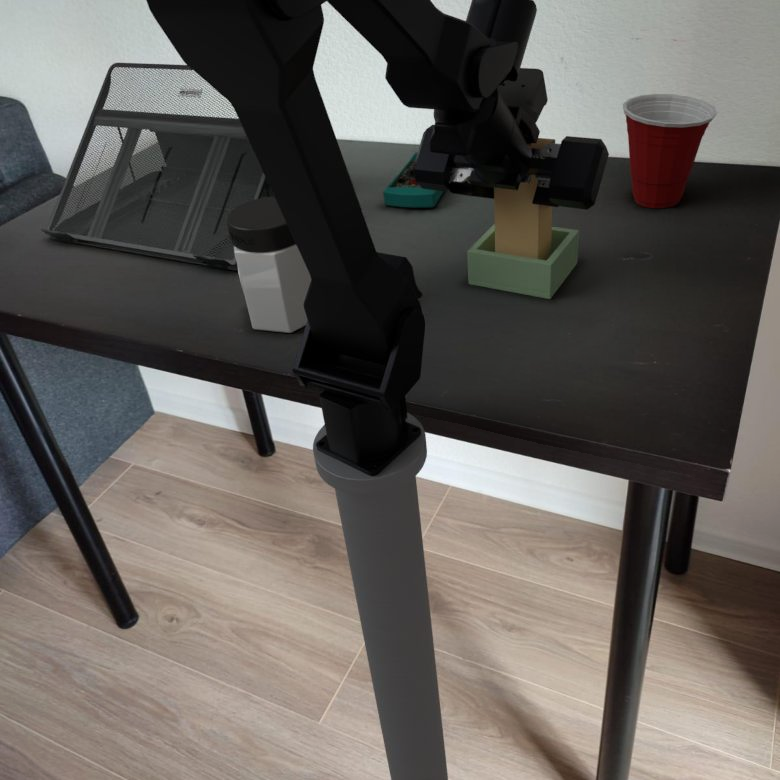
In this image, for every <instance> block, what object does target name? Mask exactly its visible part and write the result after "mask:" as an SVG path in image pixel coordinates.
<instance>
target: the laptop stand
mask: <svg viewBox="0 0 780 780" xmlns="http://www.w3.org/2000/svg"><path fill="white" fill-rule="evenodd" d="M157 81H158V82H157ZM180 85H181V86H180ZM156 89H157V90H156ZM211 94H212V95H211ZM183 106H184V107H183ZM115 135H116V136H115ZM100 147H101V148H100ZM91 149H92V150H91ZM106 150H107V151H106ZM111 165H112V166H111ZM97 177H98V178H97ZM63 182H64V183H63V185H62V187H61V190H60V193H59V194H58V195H59V196H58V198H57V200H56V203H55V206H54V208H53V211H52V213H51V216H50V219H49V221H48V224H47V225H46V226H47V227H46V229H43V228H41V229H40V231H41V232H43V233H44V234H45V235H48V236H49V237H48V238H49V240H54V241H57V242H58V241H59V242H64V243H69V244H77V245H83V246H90V247H95V248H100V249H106V250H112V251H118V252H123V253H129V254H136V255H141V256H147V257H151V258H158V259H164V260H171V261H175V262H181V263H189V264H194V265H199V266H205V267H209V268H215V269H220V270H224V271H225V270H226V271H234V272H238V266H237V262H236V258H235V254H234V245H233V244H232V241H231V238H230V236H229V232H228V224H227V216H228V214H229V213H230V212H231V211H232V210H233V209H234V208H236V207H238V206H239V205H241V204H243V203H246V202H249V201H252V200H255V199H259V198H265V197H273V196H274V195H273V193H272V190H271V188H270V186H269V184H268V182H267V179H266V177H265V175H264V173H263V171H262V168H261V166H260V164H259V162H258V160H257V157H256V155H255V153H254V151H253V149H252V147H251V144H250V142H249V140H248V138H247V136H246V133H245V131H244V129H243V127H242V125H241V122H240V120H239V118H238V116H237V114H236V111H235V109H234V108H233V106H232V105H231V103H230V102H228V100H227V99H226V98H224V96H223V95H222V94H220V93H219V92H218V91H217V90H216V89H215V88H213V87H212V86H211V85H210V84H209V83H208V82H206V81H205V80H204V79H203V78H202V77H201V76H199V75H198V74H197V73H196V72H195V71H194V70H192V69H191V68H190V67H189V66H188V65H187V64H171V63H170V64H167V63H143V62H142V63H139V62H114V63H112V64H111V65H110V66H109V68H108V70H107V72H106V75H105V78H104V79H103V83H102V85H101V87H100V90H99V92H98V95H97V98H96V100H95V103H94V105H93V108H92V111H91V113H90V116H89V118H88V121H87V124H86V126H85V128H84V131H83V134H82V137H81V139H80V141H79V144H78V147H77V149H76V152H75V153H74V157H73V159H72V162H71V165H70V167H69V170H68V172H67V175H66V177H65V181H63ZM84 189H86V190H84ZM84 192H85V193H84ZM91 203H92V204H91Z"/></svg>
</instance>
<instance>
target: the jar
mask: <svg viewBox="0 0 780 780" xmlns="http://www.w3.org/2000/svg"><path fill="white" fill-rule="evenodd" d="M272 196H273V197H272ZM272 196H270V197H268V196H267V197H266V196H265V197H263V198H262V197H261V198H259V199H255V200H252V199H251V201H249V200H248V202H246V201H245V203H243V202H242V203H243V204H241V203H240V204H241V205H240V204H239V206H238V205H237V206H238V207H237V206H235V207H236V208H234V207H233V208H234V209H233V208H232V209H233V210H232V211H231V212H230V211H229V212H230V213H229V214H228V216H226V217H227V218H226V219H227V221H226V222H227V223H226V224H228V229H227V231H228V232H229V233H228V235H229V236H230V238H231V241H232V244H233V245H234V248H233V250H234V251H233V253H234V254H235V258H236V262H237V266H238V271H237V272H238V277H239V278H238V279H239V282H240V286H241V289H242V291H243V292H242V293H243V295H244V298H245V303H246V308H247V311H248V315H249V319H250V323H251V328H252V329H253V330H255V331H256V330H257V331H267V332H275V333H276V332H277V333H285V334H286V333H287V334H293V333H294V332H296V331H298V330H300V329H302V328H305V327H306V323H307V316H306V313H305V310H304V306H303V304H304V301H305V298H306V295H307V292H308V288H309V285H310V282H311V277H310V274H309V271H308V269H307V267H306V265H305V263H304V260H303V258H302V256H301V254H300V252H299V250H298V247H297V245H296V243H295V241H294V239H293V236H292V234H291V232H290V230H289V228H288V225H287V223H286V221H285V219H284V217H283V214H282V212H281V210H280V208H279V206H278V203H277V201H276V199H275V197H274V195H272Z"/></svg>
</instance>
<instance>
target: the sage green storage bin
mask: <svg viewBox="0 0 780 780" xmlns="http://www.w3.org/2000/svg"><path fill="white" fill-rule="evenodd" d="M579 239H580V230H579V229H572V228H564V227H557V226H552V237H551V255H550V257H549V258H548V259H547V260H540V259H533V258H527V257H521V256H515V255H509V254H503V253H497V252H495V223H494V224H492V225H491V227H489V228H488V230H487V231H485V233H484V234H483V235H482V236H481V237H480V238H479V239H478V240H477V241H476V242H475V243H474V244H473V245H472V246H471V247H470V248H469V249H467V251H466V254H467V255H466V256H467V258H466V259H467V278H468V279H467V281H468V285H471V286H475V287H476V286H477V287H483V288H488V289H492V290H499V291H503V292H510V293H515V294H519V295H520V294H521V295H525V296H530V297H536V298H541V299H548V300H551V299H552V297H553V296H554V295H555V293H556V292H557V291H558V289H559V288H560V287H561V286H562V284H563V283H564V282H565V281H566V279H567V278H568V277H569V275H570V274H571V273H572V271H573V270H574V268H575V267H576V266H577V265H578V259H579V258H578V257H579V241H580V240H579Z"/></svg>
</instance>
